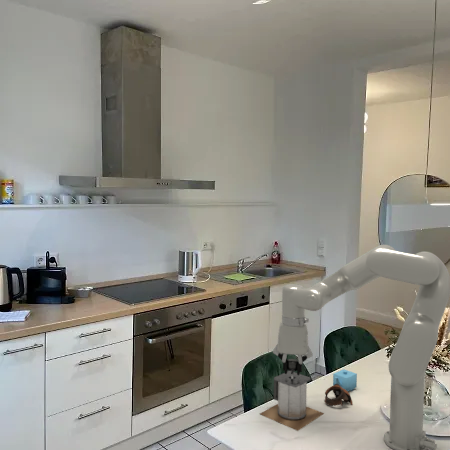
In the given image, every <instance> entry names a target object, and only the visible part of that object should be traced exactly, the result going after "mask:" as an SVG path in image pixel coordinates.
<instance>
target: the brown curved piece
mask: <svg viewBox="0 0 450 450" xmlns="http://www.w3.org/2000/svg"><path fill="white" fill-rule="evenodd" d="M331 392H333V395H334V398H330V397H328V395H329V394H330V393H331ZM324 394H325V397H324V398H325V399H324V402H325V405H326V406H330V407H334V406H335V407H336V406H343V402H344V403H349V404H350V405H351V406H353V400H352V396H351V395H350V393H349V391H347V390H345V389H343V388H342V387H341V386H340V385H339V384H335V385H334V386H333V385H331V386H330V387H328V388H327V389H326V390H325V392H324Z"/></svg>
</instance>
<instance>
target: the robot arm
mask: <svg viewBox="0 0 450 450" xmlns="http://www.w3.org/2000/svg"><path fill="white" fill-rule="evenodd" d="M379 278H385V279H390V280H394V281H398V282H401V283H402V282H403V283H407V284H412V285H415V286H417V285H418V286H419V288H418V291H417V293H416V296H415V299H414V302H413V304H412V306H411V309H410V312H409V314H408V315H407V318H406V319H405V320H404V322H403V325H402V327H401V328H402V329H401V331H400V332H399V336H398V338H397V341H396V344H395V346H394V348H393V350H392V351H391V355H390V357H389V360H388V373H389V374H390V376H391V378H390V398H389V399H390V404H389V429H388V431H386V432H384V435H383V440H384V443H385V444H386V445H387V446H388V447H389V448H390V449H392V450H428V449H430V450H437V449H438V448H437V447H438V445H437V443H436V440H435V439H432V438H430V437H428V436H426V435H427V432H426V430H424V429H423V428H424V403H425V383H426V382H425V381H426V380H425V379H426V370H427V368H428V366H429V363H430V360H431V358H432V355H433V353H434V351H435V348H436V345H437V342H438V339H439V327H440V324H441V321H442V319H443V317H444V313H445V311H446V308H447V304H448V303H449V299H450V272H449V270H448V268H447V267H446V264H445V263H444V262H443V261H442V259H440V257H438V256H437V255H436V254H434V253H433V252H431V251H420V252H417V253H415V254H414V253H409V252H402V251H400V250H399V251H397V250H396V249H395V248H394V247H393V246H391V245H389V244H380V245H377V246H375V247H373V248H372V249H370V250H368V251H367V252H365V253H364V254H362V255H360V256H358V257H357V258H355V259H353V260H351V261H350V262H348V263H347V264H345V265H342V266H341V267H340V268H339V269H338V270H337V271H335V272H334V273H332V274H330V275H329V276H327V277H325V278H323V279H322V280H320V281H318V282H317V283H315V284H313V285H312V286H310V287H308V288H307V287H306V288H305V287H304V286H303V285H301V284H296V283H289V284H288V283H287V284H284V285H283V287H282V291H281V293H282V294H281V295H282V296H281V297H282V299H281V302H282V303H281V322H280V323H279V328H278V335H277V344H276V345H275V347H274V349H273V350H272V353H273V354H274V355H276V356H277V357H278V358H279V360H280V361H281V362H282V371H284V373H285V374H287V372H288V371H289V370H287V360H288V359H287V357H288V355H291V356H292V355H293V356H297V360H298V363H297V371H296V373H297V375H299V374H301V373H302V372H303V363H304V362H305V361H307V359H310V358H312V357H313V355H314V353H313V351H312V350H311V348H310V347H309V334H308V333H309V331H308V327H307V326H308V325H307V324H306V323H309V322H310V321H309V318H307V317H305V310H306V311H310V312H317V311H320V310H321V309H323V308H324V307H325V305H327V304H328V303H330V302H331V301H333V300H335V299H337V298H338V297H340V296H342V295H344V294H345V293H347V292H350V291H357V290H359V289H362V288H363V287H364V286H367V285H368V284H370V283H372V282H373V281H375V280H378V279H379Z"/></svg>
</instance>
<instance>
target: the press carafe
mask: <svg viewBox="0 0 450 450" xmlns="http://www.w3.org/2000/svg"><path fill="white" fill-rule="evenodd" d="M309 381H311V377H309V376H306V375H304V374H301V373H300V374H299V375H297V372H296V371H294V377H293V379H291V371H289V370H288V372H287V374H285V372H284V373H281V374H279V375H276V376H274V377H273V400H274V401H277V404H278V415H279V416H280V417H281V418H283V419H285V420H290V421H298V420H302V419H304V418H305V417H306V407H307V392H308V391H307V382H309Z"/></svg>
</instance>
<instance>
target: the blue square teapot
mask: <svg viewBox="0 0 450 450" xmlns="http://www.w3.org/2000/svg"><path fill="white" fill-rule="evenodd" d="M332 376H333V377H332V386H334V385H335V384H339V385H340V386H341V387H342V388H343V389H345V390H347V391H348V392H349V391H354V389H355V388H357V384H358V383H357V381H358V379H357V378H358V373H355V372H353V371H350V370H348V369H341V370H338V371H336V372H334V373H333V374H332Z"/></svg>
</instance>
